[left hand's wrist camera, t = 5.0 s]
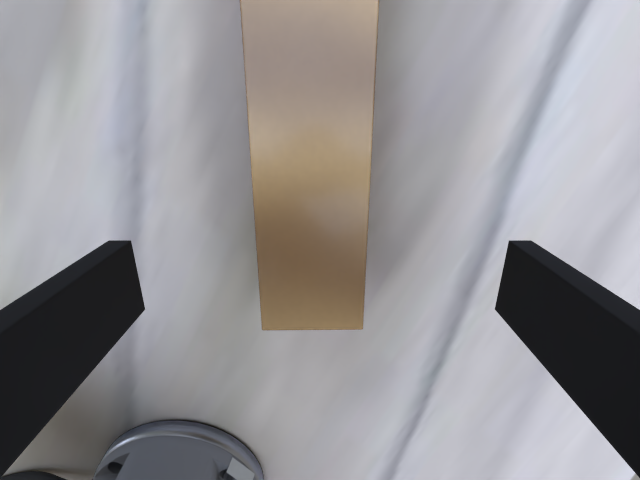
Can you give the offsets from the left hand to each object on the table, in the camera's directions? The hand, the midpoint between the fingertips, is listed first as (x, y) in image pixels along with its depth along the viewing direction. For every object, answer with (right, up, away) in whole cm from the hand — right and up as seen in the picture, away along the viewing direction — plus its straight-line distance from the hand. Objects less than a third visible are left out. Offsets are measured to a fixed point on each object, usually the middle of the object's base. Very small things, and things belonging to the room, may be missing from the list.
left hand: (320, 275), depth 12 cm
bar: (0, +37, 0) cm, 37 cm away
